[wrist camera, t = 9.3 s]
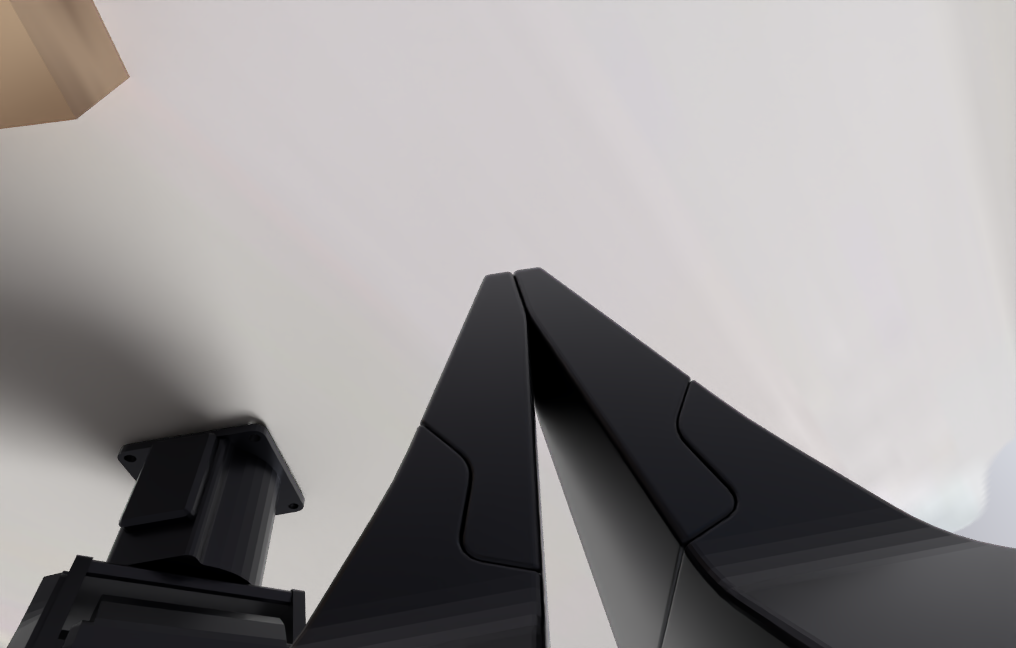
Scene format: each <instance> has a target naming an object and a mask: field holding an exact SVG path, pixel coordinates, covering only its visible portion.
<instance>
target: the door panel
mask: <svg viewBox="0 0 1016 648" xmlns="http://www.w3.org/2000/svg"><path fill="white" fill-rule="evenodd" d="M129 77H130V76H129V74H128V72H127V70H126V68H125V66H124V64H123V62H122V60H121V58H120V56H119V54H118V52H117V49H116V47H115V45H114V43H113V41H112V39H111V37H110V35H109V33H108V31H107V29H106V27H105V25H104V23H103V20H102V18H101V16H100V14H99V12H98V10H97V8H96V6H95V4H94V2H93V0H0V129H3V128H11V127H19V126H27V125H35V124H43V123H50V122H58V121H66V120H74V119H77V118H78V117H80V116H81V115H82V114H84V113H85V112H86V111H87V110H89V109H90V108H91V107H92V106H94V105H95V104H96V103H97V102H99V101H100V100H101V99H103V98H104V97H105V96H106V95H108V94H109V93H110V92H111V91H113V90H114V89H115V88H117V87H118V86H119V85H120V84H122V83H123V82H124V81H125V80H127V79H128V78H129Z"/></svg>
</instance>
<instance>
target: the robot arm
mask: <svg viewBox="0 0 1016 648" xmlns="http://www.w3.org/2000/svg"><path fill="white" fill-rule="evenodd" d="M690 381H691V379H690V377H689V376H688V375H687V374H685V373H684V372H682V371H681V370H680V369H678V368H677V367H676V366H674V365H673V364H672V363H670V362H669V361H667V360H666V359H665V358H663V357H662V356H661V355H659V354H658V353H657V352H655V351H654V350H652V349H651V348H650V347H648V346H647V345H646V344H644V343H643V342H642V341H640V340H639V339H637V338H636V337H635V336H633V335H632V334H631V333H629V332H628V331H627V330H625V329H624V328H622V327H621V326H620V325H618V324H617V323H616V322H614V321H613V320H612V319H610V318H609V317H607V316H606V315H605V314H603V313H602V312H601V311H599V310H598V309H597V308H595V307H594V306H592V305H591V304H590V303H588V302H587V301H586V300H584V299H583V298H582V297H580V296H579V295H577V294H576V293H575V292H573V291H572V290H571V289H569V288H568V287H567V286H565V285H564V284H562V283H561V282H560V281H558V280H557V279H556V278H554V277H553V276H552V275H550V274H549V273H547V272H546V271H545V270H543V269H542V268H539V267H536V268H530V269H523V270H517V271H515V272H514V274H512V273H510V272H503V273H497V274H490V275H486V276H485V277H484V279H483V281H482V284H481V286H480V288H479V290H478V293H477V295H476V297H475V299H474V302H473V304H472V306H471V309H470V311H469V313H468V315H467V318H466V320H465V322H464V324H463V327H462V329H461V331H460V334H459V336H458V338H457V340H456V343H455V345H454V347H453V349H452V352H451V354H450V356H449V358H448V361H447V363H446V365H445V368H444V370H443V372H442V374H441V377H440V379H439V381H438V383H437V386H436V388H435V390H434V393H433V395H432V397H431V399H430V402H429V404H428V406H427V408H426V411H425V413H424V415H423V418H422V420H421V422H420V425H421V426H419V427H418V428H417V430H416V433H415V435H414V437H413V440H412V442H411V444H410V446H409V449H408V451H407V453H406V455H405V457H404V459H403V461H402V463H401V465H400V467H399V469H398V471H397V473H396V475H395V477H394V479H393V481H392V483H391V485H390V487H389V488H388V490H387V492H386V494H385V495H384V497H383V499H382V501H381V502H380V504H379V506H378V508H377V509H376V511H375V513H374V515H373V516H372V518H371V520H370V521H369V523H368V525H367V526H366V528H365V529H364V531H363V533H362V534H361V536H360V538H359V539H358V541H357V543H356V544H355V546H354V547H353V549H352V551H351V552H350V554H349V556H348V557H347V559H346V560H345V562H344V564H343V565H342V567H341V569H340V570H339V572H338V574H337V575H336V577H335V578H334V580H333V582H332V583H331V585H330V587H329V588H328V590H327V591H326V593H325V595H324V596H323V598H322V600H321V601H320V603H319V605H318V606H317V608H316V609H315V611H314V613H313V614H312V616H311V617H310V619H309V621H308V622H307V624H306V617H305V591H302V590H295V589H292V590H291V591H287V590H281V589H274V588H268V587H262V586H261V585H262V579H263V574H264V569H265V564H266V559H267V554H268V548H269V543H270V538H271V533H272V528H273V523H274V517H275V515H280V514H286V513H291V512H297V511H300V510H302V509H303V507H304V501H305V500H304V497H303V495H302V493H301V491H300V489H299V487H298V485H297V484H296V482H295V480H294V478H293V476H292V474H291V472H290V471H289V469H288V467H287V465H286V463H285V461H284V460H283V458H282V456H281V454H280V452H279V450H278V448H277V447H276V445H275V443H274V441H273V439H272V437H271V435H270V434H269V432H268V430H267V429H266V427H264V426H262V425H259V424H250V425H244V426H238V427H232V428H226V429H220V430H214V431H208V432H202V433H195V434H189V435H183V436H177V437H171V438H165V439H159V440H153V441H147V442H140V443H134V444H128V445H125V446H123V447H122V448H121V450H120V452H119V454H118V460H119V461H120V462H121V464H122V465H123V466H124V467H125V468H126V470H127V471H128V472H129V473H130V474H131V476H132V477H133V478H134V479H135V480H136V483H135V485H134V488H133V490H132V492H131V495H130V497H129V499H128V502H127V504H126V506H125V509H124V511H123V513H122V516H121V518H120V520H119V526H120V527H121V528H120V530H119V533H118V535H117V537H116V540H115V542H114V544H113V547H112V549H111V551H110V554H109V556H108V559H107V561H106V562H103V561H96V560H92V559H93V557H88V556H82V555H77V556H76V558H75V560H74V562H73V565H72V567H71V569H70V571H69V572H68V571H63V572H62V573H58V574H54V575H50V576H45V577H44V578H43V580H42V582H41V584H40V586H39V588H38V590H37V592H36V594H35V596H34V598H33V600H32V602H31V604H30V606H29V607H28V609H27V611H26V613H25V615H24V617H23V619H22V621H21V623H20V625H19V627H18V629H17V630H16V632H15V634H14V636H13V638H12V639H11V641H10V643H9V645H8V646H7V648H550V632H549V617H548V602H547V587H546V572H545V556H544V541H543V526H542V511H541V496H540V481H539V465H538V450H537V435H536V420H535V410H536V413H537V416H538V420H539V423H540V426H541V429H542V432H543V434H544V437H545V440H546V443H547V446H548V449H549V452H550V455H551V457H552V460H553V463H554V466H555V469H556V472H557V475H558V477H559V480H560V483H561V486H562V489H563V492H564V495H565V497H566V500H567V503H568V506H569V509H570V512H571V515H572V518H573V520H574V523H575V526H576V529H577V532H578V535H579V538H580V540H581V543H582V546H583V549H584V552H585V555H586V558H587V560H588V563H589V566H590V569H591V572H592V575H593V578H594V581H595V583H596V586H597V589H598V592H599V595H600V598H601V601H602V603H603V606H604V609H605V612H606V615H607V618H608V621H609V623H610V626H611V629H612V632H613V635H614V638H615V641H616V644H617V646H618V648H1016V549H1015V548H1009V547H1004V546H999V545H994V544H989V543H985V542H980V541H976V540H973V539H969V538H966V537H962V536H959V535H956V534H953V533H951V532H948V531H945V530H943V529H940V528H938V527H935V526H933V525H930V524H928V523H926V522H924V521H922V520H920V519H918V518H915V517H913V516H911V515H910V514H908V513H906V512H904V511H902V510H901V509H899V508H897V507H895V506H893V505H892V504H890V503H888V502H886V501H885V500H883V499H881V498H880V497H878V496H876V495H875V494H873V493H871V492H870V491H868V490H866V489H865V488H863V487H861V486H860V485H858V484H856V483H854V482H853V481H851V480H849V479H848V478H846V477H844V476H843V475H841V474H839V473H838V472H836V471H834V470H833V469H831V468H829V467H828V466H826V465H824V464H823V463H821V462H819V461H817V460H816V459H814V458H812V457H811V456H809V455H807V454H806V453H804V452H802V451H801V450H799V449H797V448H796V447H794V446H792V445H791V444H789V443H787V442H786V441H784V440H782V439H781V438H779V437H778V436H776V435H774V434H773V433H771V432H770V431H768V430H766V429H765V428H763V427H762V426H760V425H758V424H757V423H755V422H754V421H752V420H750V419H749V418H747V417H746V416H744V415H743V414H742V413H740V412H739V411H737V410H736V409H734V408H733V407H731V406H730V405H729V404H727V403H726V402H724V401H723V400H721V399H720V398H718V397H717V396H716V395H714V394H713V393H711V392H710V391H709V390H707V389H706V388H705V387H703V386H702V385H701V384H699V383H698V382H696V381H695V380H692V381H691V382H690ZM534 406H535V407H534ZM254 434H256V435H254Z"/></svg>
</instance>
